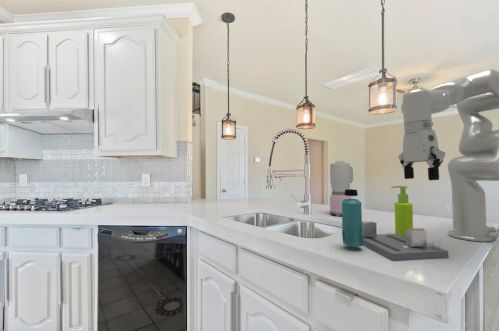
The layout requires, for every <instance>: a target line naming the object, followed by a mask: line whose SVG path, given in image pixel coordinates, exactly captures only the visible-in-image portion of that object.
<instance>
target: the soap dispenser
mask: <svg viewBox="0 0 499 331" xmlns="http://www.w3.org/2000/svg"><path fill="white" fill-rule="evenodd" d="M390 188H392V189H394V188H395V189H397V188H399V189H400V193H399V194H397V200H398V202H394V228H395V230H394V232H395V233H394V234H401V235H404V236H406V229H414V218H413V212H414V211H413V203H411V202H409V195H408V194H407V192H406V189H408V186H407V185H406V186H405V185H394V186H391V187H390Z"/></svg>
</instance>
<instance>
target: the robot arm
mask: <svg viewBox="0 0 499 331" xmlns="http://www.w3.org/2000/svg"><path fill="white" fill-rule="evenodd" d="M454 105H456V106H455V107H456V110H457V112H458V115H459V117H460V119H461V121H462V123H463V128H462V133H461V137H460V140H459V144H458V152H459V154H461V155H460V156H456V157H454V158H451V159H450V160H449V161H448V164H447V170H448V175H449V178H450V185H451V202H452V203H451V204H452V210H451V211H452V230H449V231H448V232H447V234H448V236H450V237H452V238H456V239H460V240H465V241H470V242H486V243H487V242H488V243H489V242H492V241H493V240H494V239H493V238H494V237H493V236H492V235H489V234H490V233H496V232H497V231H498V230H497V228H496V227H494V226H492V227H491V226H490V227H489V226H487V208H486V207H487V206H486V204H487V202H486V192H485V190H484V188H483V187H482V186H481V185H480V184H479V183H478V182H479V181H480V182H481V181H486V182H489V181H490V182H491V181H492V182H499V129H496V130H493V127H494V126H493V125H494V124H493V122H492V121H491V120H490V119H489V118H487V117H486V116H484V115H482V114H481V113H482V112H487V111H494V110H499V71H497V70H495V69H492V68H491V69H490V68H489V69H485V70H482V71H478V72H476V73H472V74H469V75H465V76H461V77H459V78H456V79H453V80H451V81H448V82H447V83H444V84H440V85H438V86H435V87H433V88H431V89H425V88H424V89H423V88H419V89H418V88H417V89H414V90H409V91H407V92H405V93H404V94H403V96H402V103H401V106H400V110H401V113H402V115H403V126H404V128H403V130H404V134H403V141H402V152H401V153H400V154H399V155H398V160H399V161H400V164H401V165H402V166H401V167H402V168H403V175H404V176H403V177H404V179H405V180H410V179H414V178H415V174H414V173H415V172H414V167H413V165H414V164H415V163H421V162H422V163H423V162H425V163H426V164H427V166H428V167H427V178H428V179H427V180H429V181H439V180H440V170H439V168H440V167H441V165H442V163H443V162H444V159H445V156H446V152H444V151H442V150H440V148H439V147H440V146H439V141H438V137H437V134H436V132H435V130H434V129H433V126H434V122H433V121H432V119H433V118H432V114H438V113H441V112H444V111H446V110H448V109H449V108H450V107H452V106H454Z"/></svg>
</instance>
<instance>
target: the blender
mask: <svg viewBox="0 0 499 331" xmlns="http://www.w3.org/2000/svg"><path fill="white" fill-rule="evenodd" d="M329 176H330V177H329V180H330V185H331V186H330V187H331V194H330V196H329V214H330V216H332V215H335V216H336V217H338V218H340V217H341V216H342V201H343V200H344V199H353V198H352V196H345V190H347V189H351V188H350V187H351V184H352V183H353V182H354V169H353V168H352V166H351V164H350V163H348V162H346V163H345V161H344V160H343V161H342V160H340V161H339V160H338V161H337V160H335V162H334V163H330V165H329Z"/></svg>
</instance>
